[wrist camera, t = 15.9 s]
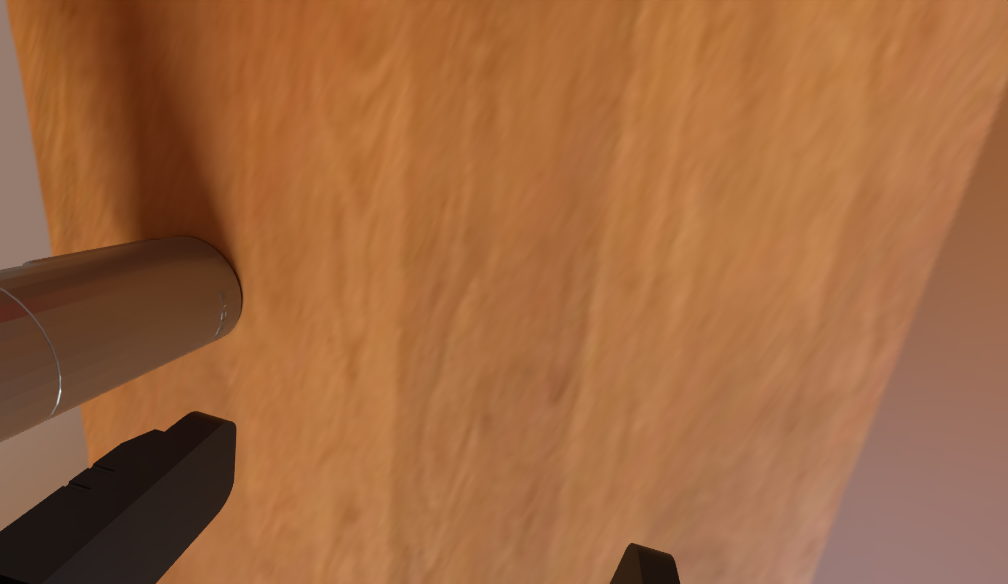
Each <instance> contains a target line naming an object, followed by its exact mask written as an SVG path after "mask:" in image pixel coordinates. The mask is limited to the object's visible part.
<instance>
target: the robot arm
mask: <svg viewBox="0 0 1008 584" xmlns="http://www.w3.org/2000/svg"><path fill="white" fill-rule="evenodd" d="M240 311H241V293H240V287H239V284H238V281H237V278H236V276H235V274H234V272H233V270H232V268H231V267H230V265H229V264H228V262H227V261H226V260H225V259H224V257H223V256H222V255H221V254H220V253H219V252H218V251H216V250H215V249H214V248H213V247H212V246H210V245H208V244H207V243H205V242H203V241H201V240H198V239H196V238H193V237H186V236H178V237H171V238H166V239H160V240H154V239H146V240H141V241H135V242H130V243H124V244H119V245H114V246H108V247H103V248H97V249H92V250H86V251H81V252H76V253H70V254H65V255H59V256H54V257H48V258H43V259H38V260H32V261H28V262H26V263H24V264H23V265H22V266H18V267H13V268H8V269H3V270H0V442H2V441H4V440H7V439H9V438H10V437H13V436H15V435H17V434H19V433H21V432H24V431H26V430H28V429H30V428H32V427H34V426H36V425H38V424H40V423H42V422H44V421H46V420H48V419H50V418H53V417H55V416H57V415H59V414H61V413H63V412H65V411H67V410H70V409H72V408H74V407H76V406H78V405H80V404H82V403H84V402H86V401H89V400H91V399H93V398H95V397H97V396H99V395H101V394H103V393H106V392H108V391H110V390H112V389H114V388H116V387H118V386H120V385H122V384H125V383H127V382H129V381H131V380H133V379H135V378H137V377H139V376H142V375H144V374H146V373H148V372H150V371H152V370H154V369H156V368H158V367H161V366H163V365H165V364H167V363H169V362H171V361H173V360H175V359H178V358H180V357H182V356H184V355H186V354H188V353H190V352H193V351H195V350H197V349H199V348H201V347H203V346H205V345H207V344H209V343H212V342H214V341H216V340H218V339H220V338H222V337H223V336H225V335H227V334H228V333H229V332H230V331H231V330H232V329H233V328H234V327H235V325H236V323H237V321H238V319H239V315H240ZM235 450H236V425H235V423H234V422H231V421H228V420H225V419H221V418H218V417H215V416H211V415H208V414H205V413H201V412H198V411H194V412H191V413H189V414H187V415H186V416H184V417H183V418H182V419H180V420H179V421H178V422H177V423H175V424H174V425H173V426H171V427H170V428H169V429H168V430H166V431H165V432H163V431H160V430H156V429H154V430H152V431H150V432H147V433H145V434H143V435H140V436H138V437H135V438H133V439H131V440H128V441H126V442H123V443H121V444H120V445H118V446H117V447H116V448H114V449H113V450H112V451H110V452H109V453H107V454H106V455H105V456H103V457H102V458H101V459H99V460H98V461H96V462H95V463H94V464H93V466H92V467H91V468H90V469H89V468H87V469H86V470H84V471H83V472H81V473H80V474H79V475H77V476H76V477H74V478H73V479H72V480H70V481H69V484H68V485H67V486H66V487H65V486H62V487H61V488H59V489H58V490H57V491H55V492H54V493H52V494H51V495H50V496H48V497H47V498H46V499H44V500H43V501H42V502H40V503H39V504H37V505H36V506H35V507H33V508H32V509H30V510H29V511H28V512H26V513H25V514H24V515H22V516H21V517H20V518H18V519H17V520H16V521H14V522H13V523H11V524H10V525H9V526H7V527H6V528H4V529H3V530H2V531H0V584H156V583H157V582H158V580H159V579H160V578H161V577H162V576H163V575H164V574H165V573H166V571H167V570H168V569H169V568H170V567H171V566H172V565H173V564H174V562H175V561H176V560H177V559H178V558H179V557H180V556H181V555H182V553H183V552H184V551H185V550H186V549H187V548H188V547H189V546H190V544H191V543H192V542H193V541H194V540H195V539H196V538H197V537H198V535H199V534H200V533H201V532H202V531H203V530H204V529H205V528H206V526H207V525H208V524H209V523H210V522H211V521H212V520H213V519H214V517H215V516H216V515H217V514H218V513H219V512H220V510H221V509H222V507H223V506H224V504H225V503H226V501H227V499H228V497H229V495H230V492H231V490H232V487H233V483H234V471H235ZM610 584H680V581H679V576H678V572H677V568H676V564H675V561H674V558H673V557H672V555H670V554H668V553H664V552H661V551H658V550H654V549H651V548H648V547H644V546H641V545H638V544H634V543H631V544H629V545H628V547H627V549H626V550H625V553H624V555H623V557H622V559H621V561H620V563H619V565H618V567H617V570H616V572H615V574H614V576H613V578H612V580H611V582H610Z"/></svg>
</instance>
